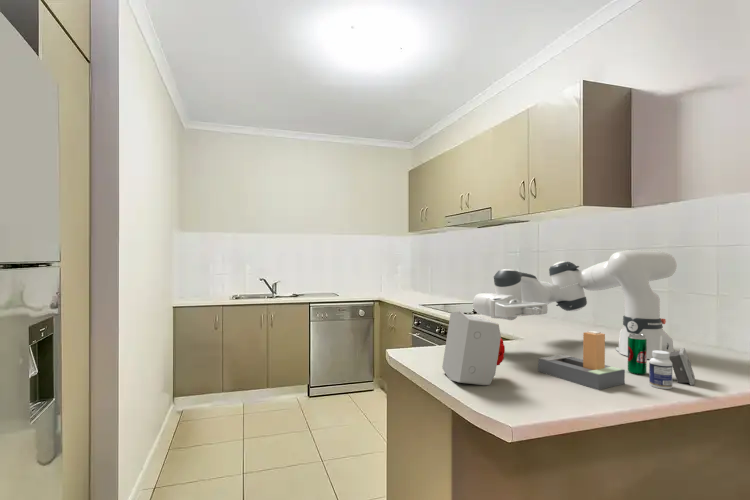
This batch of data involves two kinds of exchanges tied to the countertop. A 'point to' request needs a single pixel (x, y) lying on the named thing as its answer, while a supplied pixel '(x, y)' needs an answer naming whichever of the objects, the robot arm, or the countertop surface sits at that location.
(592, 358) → the switch tab
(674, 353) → the electrical switch
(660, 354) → the pill bottle
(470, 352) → the electrical switch box
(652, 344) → the robot arm
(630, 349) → the soda can
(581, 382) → the toggle switch
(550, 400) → the countertop surface
